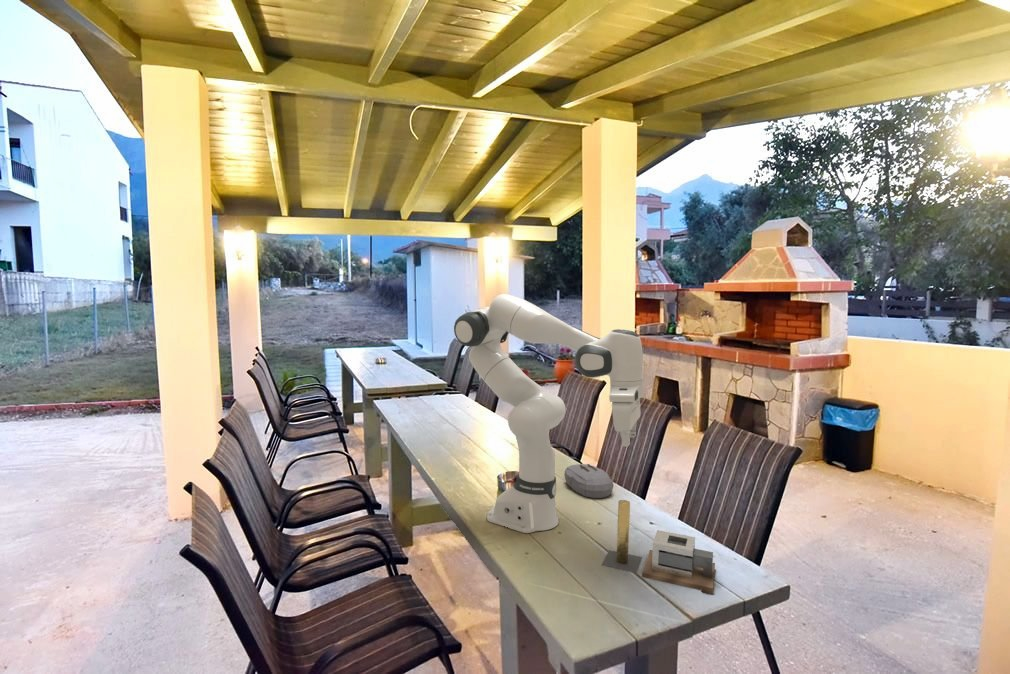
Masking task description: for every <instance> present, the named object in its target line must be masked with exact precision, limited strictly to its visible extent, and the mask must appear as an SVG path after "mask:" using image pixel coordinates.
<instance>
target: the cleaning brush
mask: <svg viewBox="0 0 1010 674" xmlns="http://www.w3.org/2000/svg"><path fill="white" fill-rule="evenodd" d="M564 480H565V481H566V484H567V485H568V486H569V487H570V489H572V490H573V491H574V490H575V491H574V492H576V493H577V492H578V493H577V494H579V495H582V496H583V497H585V498H592V499H603V498H607V497H609V496H610V495H611V494H612V493H613V490H614V487H615V486H614V481H613V479H611V477H610V475H609V473H608V472H606V471H605V470H604V469H602V468H599V467H597V466H594V465H591V464H590V463H587V464H585V463H581V464H580V463H579V464H572V465H569V466H566V468H565V471H564Z"/></svg>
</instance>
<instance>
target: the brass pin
mask: <svg viewBox="0 0 1010 674" xmlns="http://www.w3.org/2000/svg"><path fill="white" fill-rule="evenodd" d="M630 514H631V502H630V500H627V499H620V500H618V504H617V530H616V531H617V533H616V535H617V537H616V552H617V556H616V561H617V562H618V563H620V564H626V563H628V554H629V548H630V547H629V545H630V522H631V521H630V519H631V518H630V517H631V515H630Z"/></svg>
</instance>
